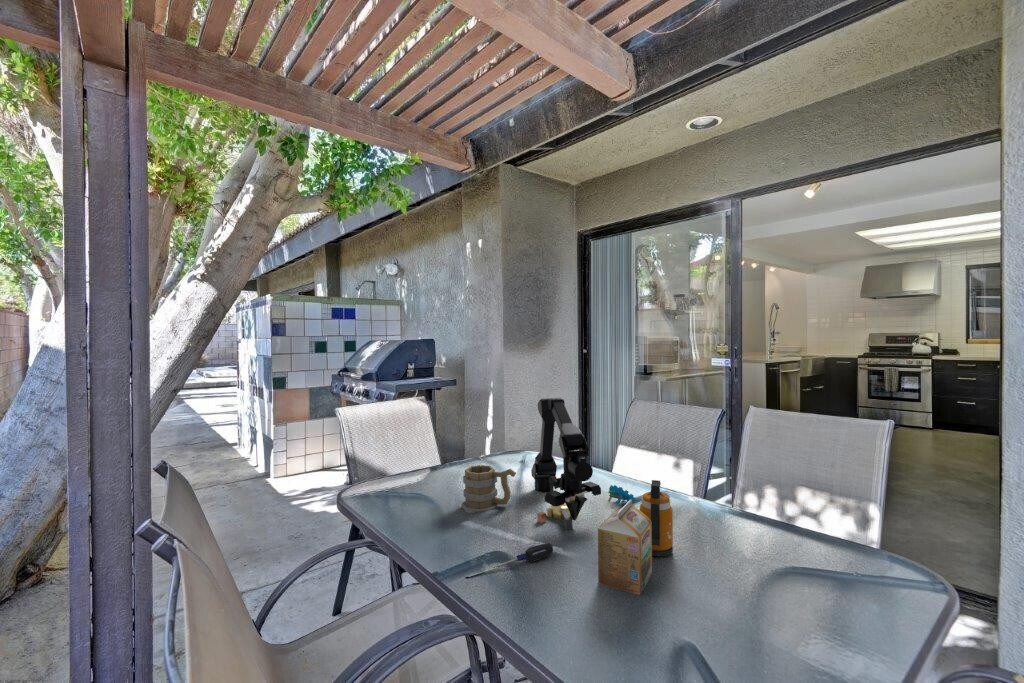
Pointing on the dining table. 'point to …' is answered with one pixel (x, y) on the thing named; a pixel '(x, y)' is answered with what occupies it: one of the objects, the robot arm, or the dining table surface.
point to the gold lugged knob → (561, 515)
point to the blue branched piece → (620, 494)
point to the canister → (659, 519)
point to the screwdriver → (532, 554)
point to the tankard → (484, 488)
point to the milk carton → (625, 550)
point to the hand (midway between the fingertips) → (574, 519)
